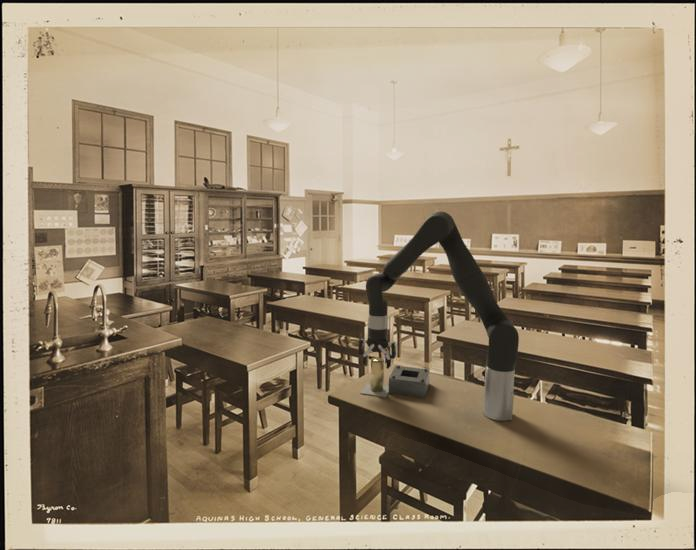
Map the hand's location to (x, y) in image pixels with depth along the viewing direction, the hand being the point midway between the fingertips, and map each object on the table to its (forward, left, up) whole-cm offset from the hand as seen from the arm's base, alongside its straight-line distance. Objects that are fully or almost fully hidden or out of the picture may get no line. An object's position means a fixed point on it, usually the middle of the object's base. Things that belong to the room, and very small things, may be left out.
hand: (376, 366), depth 158 cm
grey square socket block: (-12, -6, -10) cm, 16 cm away
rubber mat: (0, 0, -10) cm, 10 cm away
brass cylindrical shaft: (0, 0, -9) cm, 9 cm away
